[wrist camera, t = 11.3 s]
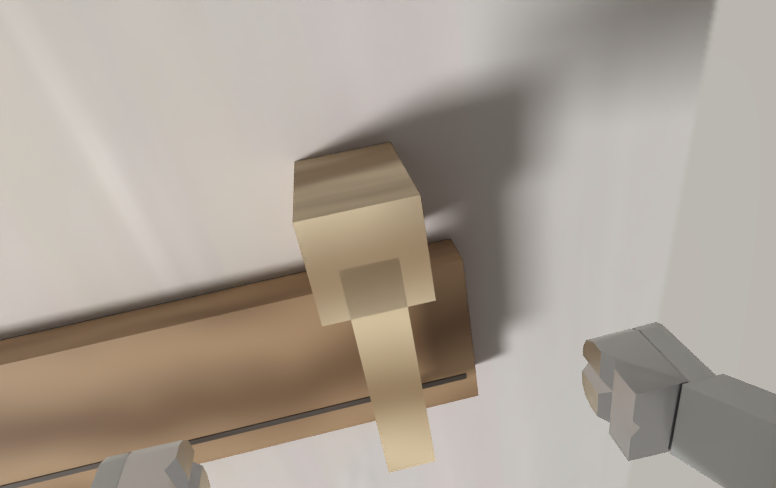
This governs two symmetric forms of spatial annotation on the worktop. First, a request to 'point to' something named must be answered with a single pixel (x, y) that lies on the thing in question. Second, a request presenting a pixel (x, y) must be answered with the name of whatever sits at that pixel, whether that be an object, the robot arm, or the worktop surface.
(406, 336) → the beige mallet
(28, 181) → the worktop surface
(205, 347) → the board
